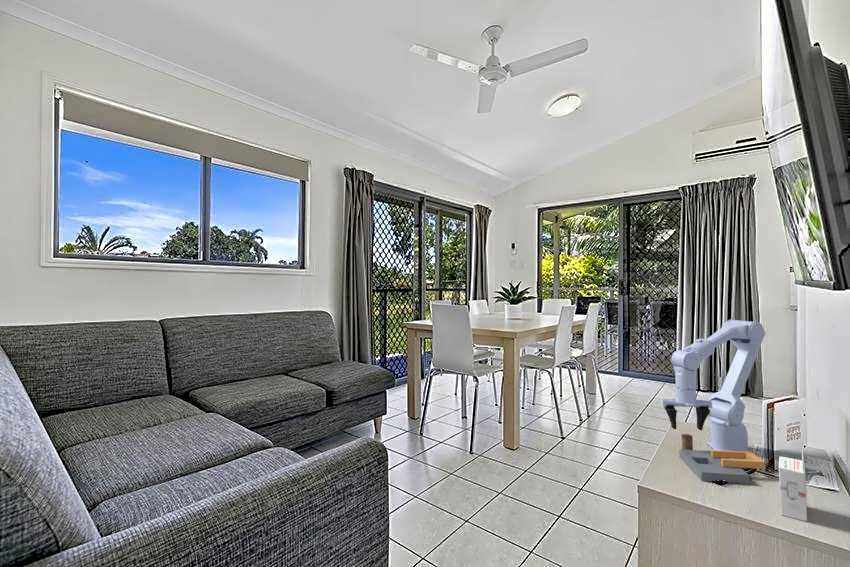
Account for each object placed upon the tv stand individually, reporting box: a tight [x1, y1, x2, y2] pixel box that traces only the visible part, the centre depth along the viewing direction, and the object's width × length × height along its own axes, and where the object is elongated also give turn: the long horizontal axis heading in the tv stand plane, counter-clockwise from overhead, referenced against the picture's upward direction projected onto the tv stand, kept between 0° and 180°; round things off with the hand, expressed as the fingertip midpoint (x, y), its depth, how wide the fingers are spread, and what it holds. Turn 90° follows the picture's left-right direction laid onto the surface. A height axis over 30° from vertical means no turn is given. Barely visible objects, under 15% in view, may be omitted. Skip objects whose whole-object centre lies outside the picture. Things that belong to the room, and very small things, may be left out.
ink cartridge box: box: [778, 449, 808, 522], centre depth 102 cm, size 9×5×15 cm, turn 139°
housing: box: [678, 448, 750, 485], centre depth 124 cm, size 12×16×2 cm
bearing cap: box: [710, 449, 766, 470], centre depth 123 cm, size 11×7×2 cm, turn 78°
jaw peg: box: [681, 433, 694, 450], centre depth 135 cm, size 3×3×6 cm
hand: (686, 428), depth 135 cm, fingers open, 7 cm apart
